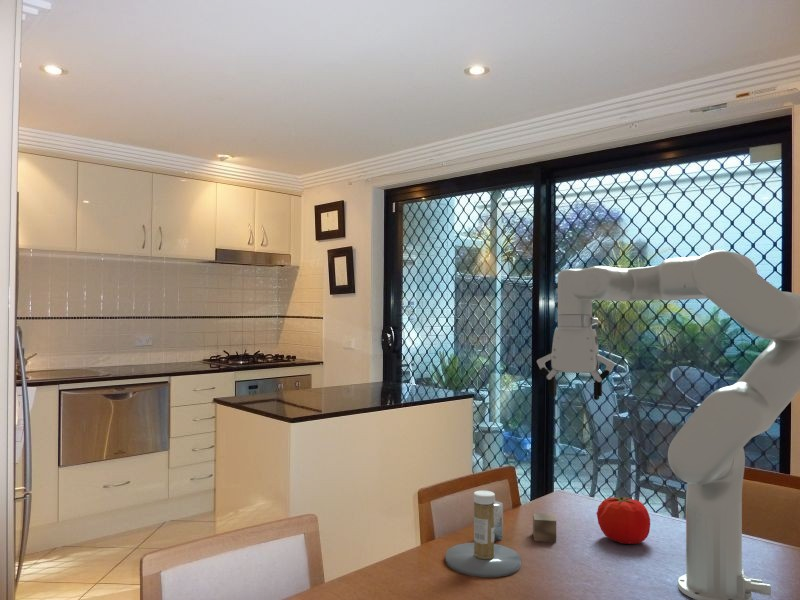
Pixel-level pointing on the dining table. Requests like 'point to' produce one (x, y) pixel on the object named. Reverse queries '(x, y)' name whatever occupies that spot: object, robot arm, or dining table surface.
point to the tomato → (624, 520)
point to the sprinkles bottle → (484, 524)
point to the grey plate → (483, 561)
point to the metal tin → (498, 521)
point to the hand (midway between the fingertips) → (574, 397)
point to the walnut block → (544, 527)
